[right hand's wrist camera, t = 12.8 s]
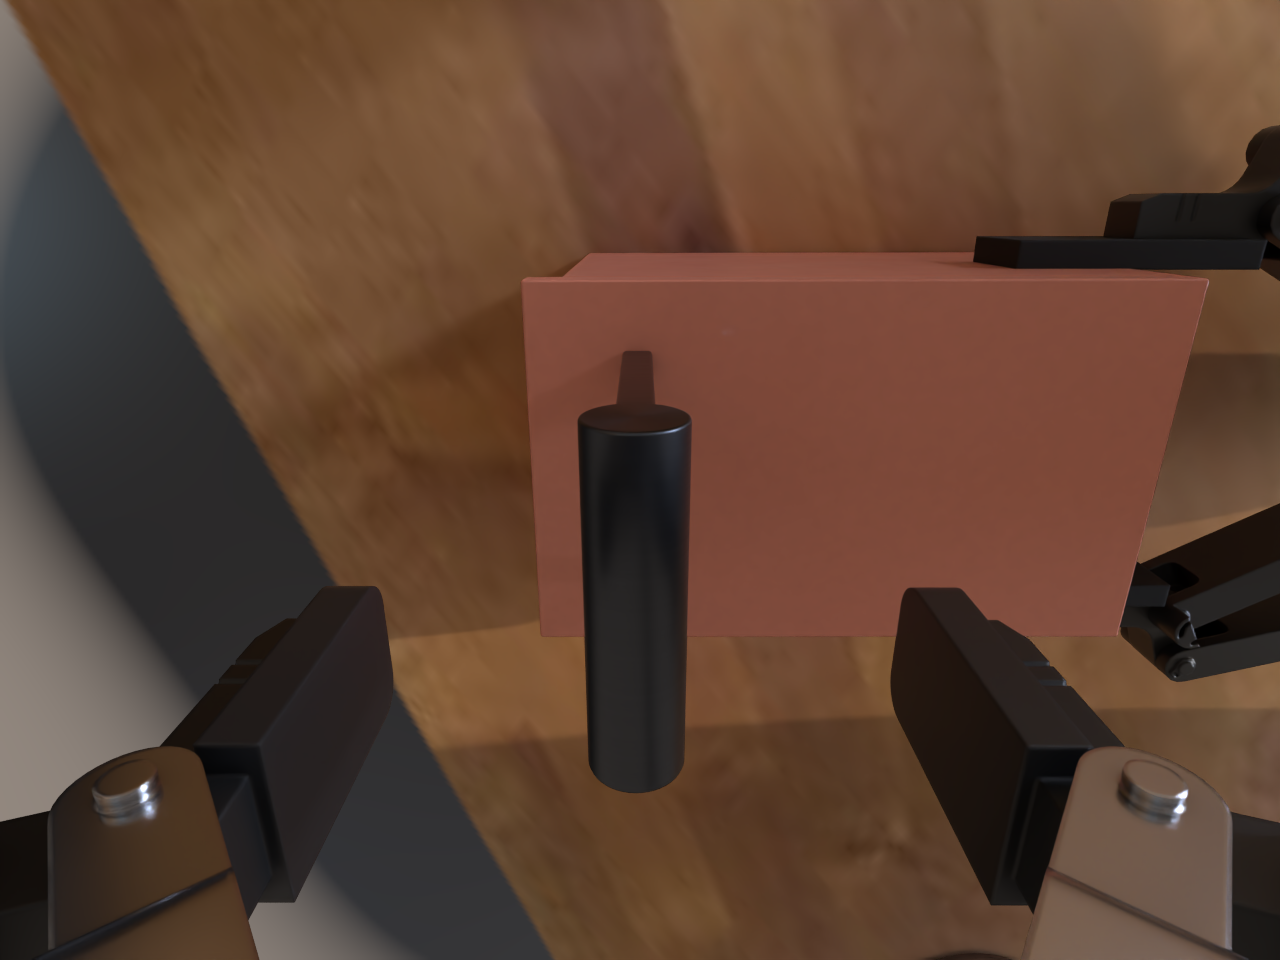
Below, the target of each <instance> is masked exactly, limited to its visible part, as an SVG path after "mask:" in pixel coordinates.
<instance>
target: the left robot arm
mask: <svg viewBox="0 0 1280 960" xmlns="http://www.w3.org/2000/svg"><path fill="white" fill-rule="evenodd" d="M1246 162H1247V163H1248V165H1249V166H1248V167H1247V169H1246V171H1245V172H1244V174H1243V175H1242V177H1241V178H1240V179H1239V181H1238V182H1237V183H1236V184H1235V185H1233V186H1232V187H1231V188H1229V189H1228V190H1226V191H1223V192H1221V193H1158V194H1129V195H1127V196H1124V197H1122V198H1119V199H1117V200H1114V201H1111V203H1110V207H1109V212H1108V217H1107V222H1106V227H1105V231H1104V236H977V238H976V245H975V251H974V258H973V262H977V263H983V264H989V265H995V266H1001V267H1007V268H1013V269H1136V270H1259V269H1260V268H1261V269H1263V270H1264V271H1265V272H1267V273H1268V274H1270V275H1271V276H1273V277H1274V278H1276V279H1277V280H1279V281H1280V125H1279V126H1271V127H1268V128H1265V129H1262V130H1261V131H1260V132H1258V133H1257V134H1256V135H1254V137H1253V138H1252V140H1251V141H1250V142H1249V144H1248V147H1247V150H1246ZM1120 627H1121V635H1122V637H1123V638H1124V639H1125V640H1127V641H1128V642H1129V643H1130V644H1131V645H1132V646H1133V647H1134V648H1135V649H1136V650H1137V651H1139V652H1140V653H1141V654H1142V655H1143V656H1144V657H1145V658H1146V659H1148V660H1149V661H1150V662H1151V663H1152V664H1153V665H1154V666H1155V667H1157V668H1158V669H1159V670H1160V671H1161V672H1163V673H1164V674H1165V675H1166V676H1167V677H1168V678H1169V679H1170V680H1173V681H1176V682H1182V681H1188V680H1193V679H1198V678H1203V677H1207V676H1212V675H1217V674H1222V673H1226V672H1231V671H1236V670H1241V669H1246V668H1250V667H1255V666H1260V665H1265V664H1269V663H1274V662H1279V661H1280V503H1279V504H1277V505H1275V506H1272V507H1270V508H1268V509H1266V510H1263V511H1261V512H1259V513H1256V514H1254V515H1252V516H1249V517H1247V518H1245V519H1243V520H1240V521H1238V522H1236V523H1233V524H1231V525H1229V526H1226V527H1224V528H1222V529H1220V530H1217V531H1215V532H1213V533H1210V534H1208V535H1206V536H1203V537H1201V538H1199V539H1197V540H1194V541H1192V542H1190V543H1187V544H1185V545H1183V546H1180V547H1178V548H1176V549H1174V550H1171V551H1169V552H1167V553H1164V554H1162V555H1160V556H1157V557H1155V558H1153V559H1151V560H1148V561H1146V562H1144V563H1141V564H1140V563H1138V562H1137V561H1136V565H1135V569H1134V573H1133V577H1132V581H1131V585H1130V588H1129V592H1128V596H1127V600H1126V604H1125V608H1124V612H1123V615H1122V619H1121V623H1120Z"/></svg>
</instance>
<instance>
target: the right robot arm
mask: <svg viewBox="0 0 1280 960" xmlns="http://www.w3.org/2000/svg"><path fill="white" fill-rule="evenodd" d="M890 683H891V696H892V702H893V707H894V710H895V713H896V716H897V718H898V720H899V722H900V724H901V726H902V728H903V730H904V732H905V734H906V736H907V738H908V740H909V742H910V744H911V746H912V748H913V750H914V752H915V754H916V756H917V758H918V760H919V762H920V764H921V766H922V768H923V770H924V772H925V774H926V776H927V778H928V780H929V782H930V784H931V786H932V788H933V790H934V792H935V794H936V796H937V798H938V800H939V802H940V804H941V806H942V808H943V810H944V812H945V814H946V816H947V818H948V820H949V822H950V824H951V826H952V828H953V830H954V832H955V834H956V836H957V838H958V840H959V842H960V844H961V846H962V848H963V850H964V852H965V854H966V856H967V858H968V860H969V862H970V864H971V866H972V868H973V870H974V872H975V874H976V876H977V878H978V880H979V882H980V884H981V886H982V888H983V890H984V892H985V894H986V896H987V898H988V900H989V902H990V904H991V905H1028V906H1029V908H1030V910H1031V911H1032V913H1033V918H1032V922H1031V925H1030V929H1029V932H1028V936H1027V939H1026V943H1025V946H1024V950H1023V953H1022V957H1021V960H1280V823H1278V822H1273V821H1269V820H1264V819H1260V818H1255V817H1251V816H1246V815H1241V814H1237V813H1233V812H1230V810H1229V808H1228V806H1227V804H1226V803H1225V802H1224V800H1223V799H1222V797H1221V796H1220V795H1219V794H1218V793H1217V792H1216V791H1215V790H1214V789H1213V788H1212V787H1211V786H1210V785H1209V784H1208V783H1206V782H1205V781H1204V780H1203V779H1201V778H1200V777H1198V776H1197V775H1196V774H1194V773H1193V772H1191V771H1189V770H1187V769H1186V768H1184V767H1182V766H1181V765H1178V764H1176V763H1174V762H1172V761H1170V760H1168V759H1166V758H1163V757H1161V756H1158V755H1155V754H1152V753H1149V752H1146V751H1142V750H1138V749H1133V748H1127V747H1125V746H1124V745H1123V744H1122V743H1121V742H1120V741H1119V740H1118V738H1117V737H1116V736H1115V735H1114V734H1113V733H1112V732H1111V731H1110V729H1109V728H1108V727H1107V726H1106V725H1105V724H1104V723H1103V722H1102V720H1101V719H1100V718H1099V717H1098V716H1097V715H1096V714H1095V713H1094V712H1093V710H1092V709H1091V708H1090V707H1089V706H1088V705H1087V704H1086V703H1085V701H1084V700H1083V699H1082V698H1081V697H1080V696H1079V695H1078V694H1077V692H1076V691H1075V690H1074V689H1073V688H1072V687H1071V686H1067V685H1066V680H1065V679H1064V678H1063V677H1062V676H1061V675H1060V673H1059V672H1058V671H1057V670H1056V669H1055V668H1054V667H1050V665H1049V661H1048V660H1047V659H1046V658H1045V657H1044V655H1043V654H1042V653H1041V652H1040V651H1039V650H1038V649H1037V648H1036V646H1035V645H1034V644H1033V643H1032V642H1031V641H1030V640H1029V639H1028V638H1026V637H1025V636H1023V635H1021V634H1020V633H1018V632H1016V631H1015V630H1013V629H1012V628H1010V627H1008V626H1007V625H1005V624H1004V623H1002V622H1000V621H999V620H987V618H986V617H985V616H984V615H983V614H982V612H981V611H980V610H979V609H978V608H977V606H976V605H975V604H974V603H973V602H972V600H971V599H970V598H969V597H968V596H967V594H966V593H965V592H964V591H963V590H962V589H960V588H957V587H910V588H907V589H906V591H905V592H904V594H903V597H902V600H901V606H900V613H899V620H898V627H897V634H896V641H895V648H894V655H893V662H892V669H891V681H890ZM392 693H393V669H392V662H391V655H390V648H389V641H388V634H387V627H386V620H385V613H384V605H383V599H382V596H381V593H380V591H379V589H378V588H377V587H375V586H326V587H324V588H322V589H321V590H320V591H319V592H318V594H317V595H316V596H315V597H314V598H313V600H312V601H311V602H310V603H309V605H308V606H307V607H306V608H305V609H304V611H303V612H302V613H301V614H300V615H299V617H298V618H297V619H285V620H284V621H282V622H280V623H279V624H277V625H276V626H274V627H272V628H271V629H269V630H268V631H266V632H264V633H263V634H261V635H260V636H258V637H256V638H255V639H254V640H253V642H252V643H251V644H250V645H249V646H248V647H247V648H246V649H245V651H244V652H243V653H242V654H241V655H240V656H239V657H238V658H237V660H236V664H235V665H231V666H230V667H229V669H228V670H227V671H226V672H225V673H224V674H223V675H222V677H221V678H220V679H219V684H215V685H214V686H213V687H212V688H211V689H210V690H209V691H208V692H207V694H206V695H205V696H204V697H203V698H202V699H201V700H200V701H199V703H198V704H197V705H196V706H195V707H194V708H193V709H192V710H191V712H190V713H189V714H188V715H187V716H186V717H185V718H184V720H183V721H182V722H181V723H180V724H179V725H178V726H177V727H176V729H175V730H174V731H173V732H172V733H171V734H170V735H169V736H168V738H167V739H166V740H165V741H164V742H163V743H162V744H161V746H160V747H154V748H147V749H143V750H138V751H134V752H131V753H128V754H125V755H122V756H119V757H117V758H114V759H112V760H110V761H108V762H106V763H104V764H102V765H100V766H98V767H96V768H94V769H93V770H91V771H89V772H87V773H86V774H85V775H83V776H82V777H80V778H79V779H77V780H76V781H75V782H74V783H73V784H71V785H70V786H69V787H68V788H67V789H66V790H65V791H64V792H63V793H62V794H61V795H60V796H59V797H58V799H57V800H56V802H55V803H54V804H53V806H52V808H51V810H50V811H47V812H42V813H38V814H33V815H29V816H24V817H20V818H15V819H11V820H6V821H2V822H0V960H259V957H258V953H257V950H256V946H255V943H254V939H253V936H252V932H251V929H250V925H249V922H248V920H249V918H250V916H251V914H252V912H253V911H254V909H255V907H256V905H257V903H258V902H295V901H296V899H297V897H298V895H299V893H300V890H301V888H302V886H303V884H304V882H305V880H306V878H307V876H308V874H309V872H310V870H311V868H312V866H313V864H314V862H315V860H316V858H317V856H318V854H319V852H320V850H321V848H322V846H323V844H324V842H325V840H326V838H327V836H328V834H329V832H330V830H331V828H332V826H333V824H334V822H335V819H336V818H337V816H338V813H339V812H340V809H341V807H342V805H343V803H344V801H345V799H346V797H347V795H348V793H349V791H350V789H351V787H352V785H353V783H354V781H355V779H356V777H357V775H358V773H359V771H360V769H361V767H362V765H363V763H364V761H365V759H366V757H367V755H368V753H369V751H370V749H371V747H372V745H373V743H374V741H375V739H376V737H377V735H378V732H379V730H380V729H381V726H382V724H383V722H384V720H385V718H386V716H387V714H388V711H389V708H390V704H391V699H392ZM936 960H1011V959H1008V958H1005V957H1001V956H996V955H990V954H960V955H953V956H948V957H944V958H940V959H936Z"/></svg>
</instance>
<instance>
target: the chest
mask: <svg viewBox="0 0 1280 960" xmlns="http://www.w3.org/2000/svg"><path fill="white" fill-rule="evenodd" d="M973 258H974V252H818V253H589V254H588V255H587V256H585V257H584V258H583V259H582V260H581V261H580V262H579V263H577V264H576V265H575V266H574V267H573V268H572V269H571V270H569V271H568V272H567V273H566V274H565V275H564V276H562V277H814V276H1182V275H1176V274H1168V273H1160V272H1152V271H1144V270H1136V269H1013V268H1007V267H1001V266H995V265H989V264H983V263H977V262H973Z"/></svg>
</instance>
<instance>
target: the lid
mask: <svg viewBox="0 0 1280 960" xmlns="http://www.w3.org/2000/svg"><path fill="white" fill-rule="evenodd" d="M1208 283H1209V279H1207V278H1201V277H1193V276H814V277H527V278H525V279H523V280H522V281H521V296H522V314H523V331H524V349H525V366H526V384H527V401H528V419H529V437H530V454H531V472H532V489H533V507H534V524H535V542H536V559H537V577H538V594H539V612H540V629H541V636H543V637H585V667H586V698H587V728H588V758H589V765H590V768H591V770H592V772H593V774H594V775H595V776H596V778H597V779H598V780H599V781H601V782H602V783H603V784H605V785H606V786H608V787H610V788H612V789H615V790H618V791H622V792H627V793H645V792H650V791H654V790H657V789H660V788H662V787H664V786H666V785H668V784H669V783H671V782H672V781H673V780H674V779H675V778H676V777H677V776H678V774H679V773H680V771H681V769H682V767H683V764H684V745H685V702H686V658H687V636H896V634H897V627H898V620H899V613H900V606H901V600H902V597H903V594H904V592H905V591H906V589H907V588H910V587H957V588H960V589H962V590H963V591H964V592H965V593H966V594H967V596H968V597H969V598H970V599H971V600H972V602H973V603H974V604H975V605H976V606H977V608H978V609H979V610H980V611H981V612H982V614H983V615H984V616H985V617H986V618H987V620H999V621H1000V622H1002V623H1004V624H1005V625H1007V626H1008V627H1010V628H1012V629H1013V630H1015V631H1016V632H1018V633H1020V634H1021V635H1023V636H1117V635H1118V631H1119V627H1120V623H1121V619H1122V615H1123V612H1124V608H1125V604H1126V600H1127V596H1128V592H1129V588H1130V585H1131V581H1132V577H1133V573H1134V569H1135V565H1136V561H1137V558H1138V554H1139V550H1140V546H1141V542H1142V538H1143V534H1144V531H1145V527H1146V523H1147V519H1148V515H1149V511H1150V507H1151V503H1152V500H1153V496H1154V492H1155V488H1156V484H1157V480H1158V476H1159V473H1160V469H1161V465H1162V461H1163V457H1164V453H1165V449H1166V446H1167V442H1168V438H1169V434H1170V430H1171V426H1172V422H1173V419H1174V415H1175V411H1176V407H1177V403H1178V399H1179V395H1180V391H1181V388H1182V384H1183V380H1184V376H1185V372H1186V368H1187V364H1188V361H1189V357H1190V353H1191V349H1192V345H1193V341H1194V337H1195V334H1196V330H1197V326H1198V322H1199V318H1200V314H1201V310H1202V307H1203V303H1204V299H1205V295H1206V291H1207V287H1208Z"/></svg>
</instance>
